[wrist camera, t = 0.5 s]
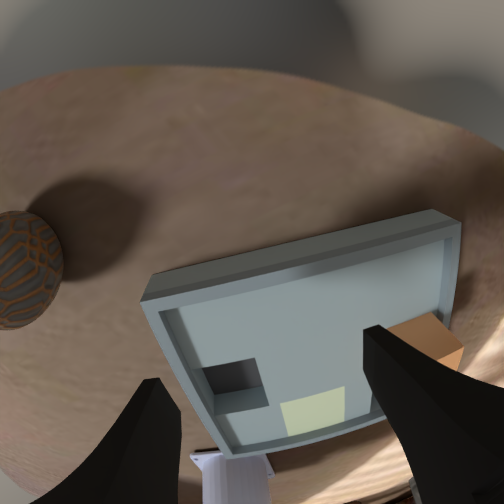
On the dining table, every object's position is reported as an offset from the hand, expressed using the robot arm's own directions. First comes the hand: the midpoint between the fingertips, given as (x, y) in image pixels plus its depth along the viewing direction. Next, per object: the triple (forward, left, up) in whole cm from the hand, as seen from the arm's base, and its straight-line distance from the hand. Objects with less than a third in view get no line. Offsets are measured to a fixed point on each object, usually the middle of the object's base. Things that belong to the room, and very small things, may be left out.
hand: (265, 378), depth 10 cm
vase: (+5, +14, -10) cm, 18 cm away
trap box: (-8, -4, -10) cm, 14 cm away
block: (-8, -11, -8) cm, 15 cm away
